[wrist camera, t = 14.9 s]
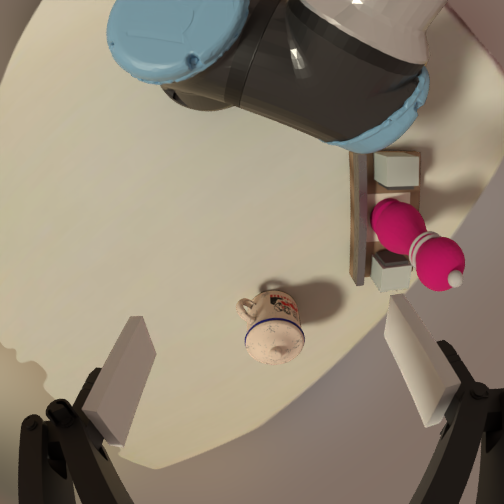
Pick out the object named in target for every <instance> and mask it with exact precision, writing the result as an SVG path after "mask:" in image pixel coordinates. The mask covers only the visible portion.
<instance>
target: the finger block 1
mask: <svg viewBox="0 0 504 504" xmlns="http://www.w3.org/2000/svg"><path fill="white" fill-rule="evenodd" d="M373 167H374V180H376V181H377V182H378V184H379V185H381V186H382V187H384V188H386V189H387V190H410V189H414V186H419V157H418V156H414V155H411V154H407V153H404V152H374V153H373Z"/></svg>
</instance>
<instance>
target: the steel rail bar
mask: <svg viewBox="0 0 504 504" xmlns="http://www.w3.org/2000/svg"><path fill="white" fill-rule="evenodd" d="M353 165H354V257H353V280H354V282H355V284H356V286H362V285H364V274H365V258H366V237H367V155H366V154H360V153H353Z"/></svg>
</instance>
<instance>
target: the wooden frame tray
mask: <svg viewBox="0 0 504 504" xmlns="http://www.w3.org/2000/svg"><path fill="white" fill-rule="evenodd" d="M377 152H404V153H407V154H411V155H414V156H418V157H419V186H414V189H410V190H387V189H386V188H384V187H382V186H381V185H379V184H378V182H377V181H376V180H374V167H373V153H368V154H366V155H367V237H366V258H365V274H364V277H370V273H371V258H372V254H376V252H381V251H389V250H388V249H386V248H385V247H384V246H383V245H382V244H381V243H380V241H379V240H378V237H377V234H376V233H375V232H374V231H373V229H372V227H371V224H370V216H371V212H372V210H373V208H374V207H375V206H376V204H377V203H378V202H380V201H381V200H383V199H387V198H393V199H397V200H398V201H400V202H405V203H408V204H410V205H412V206H413V207H414V208H415V209H417V211H418V212H419V199H420V165H421V154H420V152H416V151H377ZM353 153H354V152H352V151H349V162H350V198H351V235H350V271H349V273H350V275H351V277H352V279H353V257H354V165H353ZM403 255H404V256H405V257H406V259H407V260H408V261H409V262H410V260H409V256H408V255H405V254H403ZM410 264H411V263H410ZM411 271H413V266H412V270H411Z"/></svg>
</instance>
